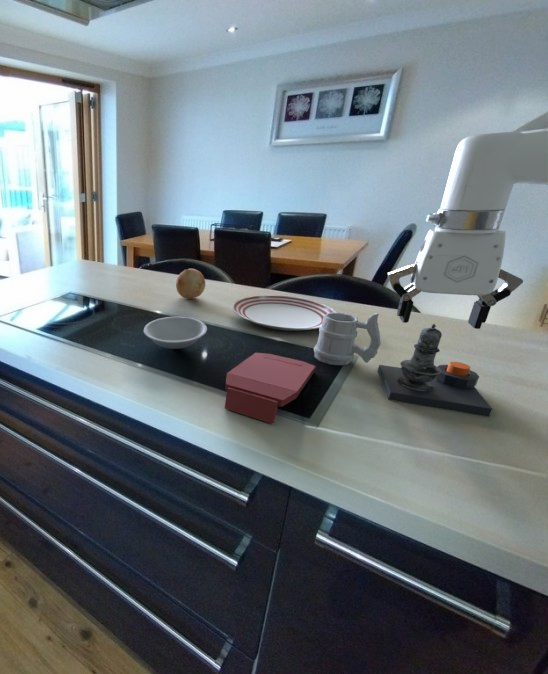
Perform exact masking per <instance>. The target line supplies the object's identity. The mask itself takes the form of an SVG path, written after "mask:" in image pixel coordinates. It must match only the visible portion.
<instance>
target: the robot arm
mask: <svg viewBox="0 0 548 674" xmlns="http://www.w3.org/2000/svg"><path fill="white" fill-rule="evenodd" d="M515 184H520V185H521V184H525V185H526V184H527V185H542V186H543V185H546V186H547V185H548V110H547V111H544V112H543V113H541V114H539V115H538V116H535V117H534V118H532V119H530V120H528V121H527V122H525V123H523V124H522V125H520V126H518V127H516V128H514V129H512V130H510V131H505V132H491V133H481V134H474V135H469V136H466V137H464V138H463V139H462V140H460V142H458V145H457V146H456V149H455V151H454V154H453V159H452V163H451V166H450V170H449V173H448V177H447V181H446V185H445V189H444V193H443V196H442V200H441V204H440V207H439V208H438V209H437V211H436V212H434V213H428V214H427V215H426V218H425V222H426V223H429V224H430V223H431V224H433V226H434V227H435V228H430V229H429V230H428V232H427V234H426V236H425V238H424V240H423V242H422V244H421V246H420V249H419V251H418V254H417V256H416V260H415V262H414V263H412V264H409V265H406V266H403V267H401V268H397V269H395V270H392V271H389V272H387V279H388V282H389V284H390V286H391V288H392V289H393V291H394V292H395V293H396V294H397V295H398V296H399V297H400V300H399V304H398V307H397V311H396V315H397V317H399V319H400V321H401V323H404V324H407V323H409V322H410V319H411V318H410V317H411V314H412V310H413V307H414V301H413V298H414V297H416V296H417V295H419V294H420V293H426V294H427V293H428V294H441V295H457V296H458V295H460V296H477V298H478V300H475V301H474V302H473V305H472V308H471V311H470V314H469V318H468V319H467V323H468V324H469V325H470V326H471V327H472V328H473V329H477V330H480V329H481V328H482V324H485V323H486V322H487V319H488V316H489V313H490V311H491V308H492V307H494V306H496V305H497V303H499V302H501V301H502V300H504V299H506V298H508V297H509V296H511V294H512V293H513V292H514V291H515V290H517V289H518V288H519V287H520V286H521V285H522V284H523V282H524V280H523V279H522V278H520V277H519V276H517V275H515V274H512V273H511V272H508V271H506V270H504V269H502V263H503V258H504V252H505V245H506V230H502V229H500V227H501V223H502V220H503V217H504V215H505V211H506V208H507V205H508V203H509V200H510V196H511V193H512V190H513V188H514V185H515ZM406 276H410V284H408V285H406V286H405V287H403V286H402V285H401V282H400V279H401V278H403V277H406ZM499 279H500V280H502V281H504V283H503V284H502V286H501V287H498V288H496V286H497V283H498V280H499ZM495 288H496V289H495Z"/></svg>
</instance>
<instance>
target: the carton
mask: <svg viewBox="0 0 548 674" xmlns="http://www.w3.org/2000/svg"><path fill="white" fill-rule="evenodd" d="M315 371H316V365H314V364H312V363H308V362H306V361H304V360H299V359H294V358H290V357H285V356H281V355H277V354H273V353H265V352H254V353H253V354H252V355H250V356H249V357H247V358H246V359H244V360H243V361H242V362H240V363H239V364H237V365H236V366H235V367H233V368H232V369H230V370H229V371H228V372H227V373H226V378H225V390H224V391H226V397H225V403H224V409H225V410H228V409H229V411H232V412H233V413H234V412H235V413H237V414H240V415H243V416H247V417H250V418H253V419H256V420H259V421H263V422H266V423H269V424H273V423H274V422H275V421H276V418H277V414H278V413H277V412H278V409H279V407H280V408H283V407H284V406H286V405H288V404H289V403H291V402H292V401H294V400H296V399H297V398H298V396H299V395H300V393H301V392H302V391H303V389H304V388H305V387H306V384H307V383H308V382H309V380H310V379H311V378H312V376H313V374H314V373H315ZM274 420H275V421H274Z"/></svg>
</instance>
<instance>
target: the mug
mask: <svg viewBox="0 0 548 674" xmlns="http://www.w3.org/2000/svg"><path fill="white" fill-rule="evenodd" d="M379 315H380V314H379V312H375V313H372V315H370V316H369V317H368V318H367V320H366V322H363V321H359V318H358V317H356V316H355V315H352V314H349V313H345V312H337V313H334V312H333V313H327V314H326V315H324V318H323V322H322V325H321V326H320V328H318V329H319V330H318V331H319V332H318V333H319V334H318V338H317V342H316V344H315V345H314V347H313V352H314V355H313V357H314V358H315V359H316V360H317V361H318V362H322V363H323V364H327V365H332V366H347V365H350V363H351V361H352V360H353V358H354V355H355V354H356V355H357V356H359V357H360V358H361V359H362V360H363V362H364V363H366V364H367V363H368V364H369V362H370V361H371V359H374V358H375V357H376V356H377V354H378V350H379V348H380V347H381V345H382V344H381V343H382V342H381V334H380V327H379V323H378V318H379ZM358 328H359V329H362V330H363V329H364V330H366V332H367V333H368V335H369V337H370V341H369V344H368V345H367V346H366V347H364V348H363V347H361V346H360V345H358V344H355V340H356V338H357V337H358Z"/></svg>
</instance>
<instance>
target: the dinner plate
mask: <svg viewBox="0 0 548 674" xmlns="http://www.w3.org/2000/svg"><path fill="white" fill-rule="evenodd" d="M231 309H232V311H233V312H234V314H235V315H237V316H238V317H240V318H242V319H244V320H246V321H248V322H250V323H253V324H256V325H258V326H260V327H264V328H267V329H271V330H278V331H285V332H297V331H298V332H300V331H309V330H310V331H311V330H317V329H319V328H320V326H321V325H322V322H323V318H324V315H326V314H327V313H333V312H334V313H338V312H337V311H336V310H335V309H334V308H332V307H331V306H328V305H326V304H324V303H322V302H319V301H315V300H313V299H309V298H303V297H298V296H292V295H283V294H281V295H280V294H258V295H257V294H256V295H250V296H246V297H241V298H239V299H237V300H235V301H234V302H233V303H232V304H231Z"/></svg>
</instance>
